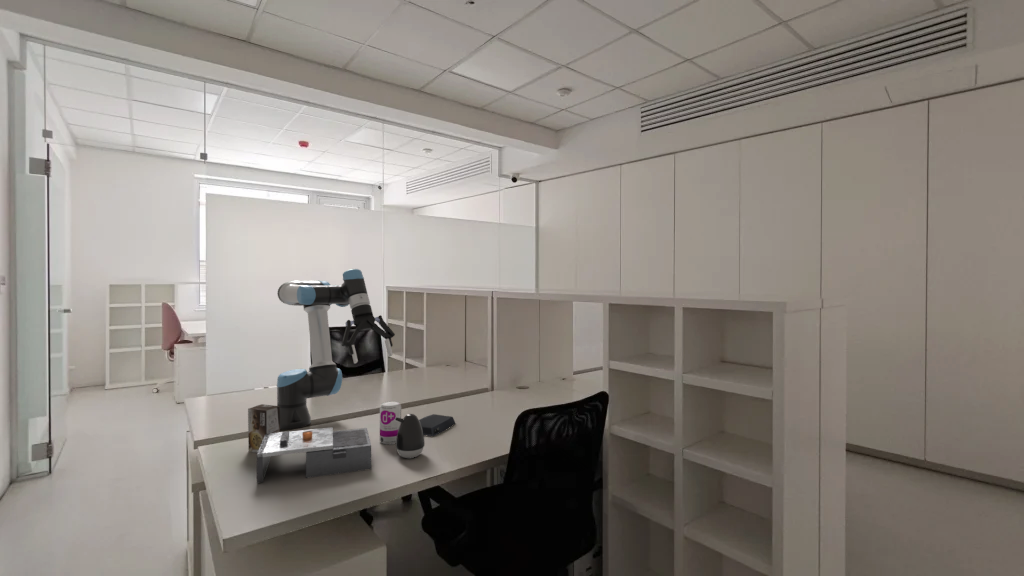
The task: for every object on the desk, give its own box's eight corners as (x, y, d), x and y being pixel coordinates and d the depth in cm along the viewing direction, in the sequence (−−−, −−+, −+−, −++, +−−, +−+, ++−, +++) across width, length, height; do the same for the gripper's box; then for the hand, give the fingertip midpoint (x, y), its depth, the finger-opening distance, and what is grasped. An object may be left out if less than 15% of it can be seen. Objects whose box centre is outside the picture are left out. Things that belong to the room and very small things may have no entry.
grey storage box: (305, 480, 147) (305, 454, 146) (308, 453, 169) (309, 431, 169) (371, 471, 154) (371, 447, 154) (366, 447, 176) (366, 425, 176)
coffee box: (280, 448, 174) (280, 405, 174) (266, 454, 168) (266, 410, 168) (262, 445, 177) (262, 403, 177) (247, 451, 171) (247, 407, 170)
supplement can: (395, 445, 178) (395, 406, 178) (375, 444, 180) (375, 405, 179) (404, 438, 186) (404, 401, 186) (385, 437, 188) (385, 400, 187)
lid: (256, 482, 143) (256, 447, 143) (265, 459, 162) (265, 428, 162) (332, 472, 151) (332, 439, 151) (332, 451, 170) (332, 421, 170)
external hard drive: (406, 434, 193) (406, 424, 193) (431, 421, 211) (431, 412, 211) (433, 438, 189) (433, 428, 189) (457, 424, 207) (457, 415, 206)
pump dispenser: (393, 452, 171) (393, 411, 171) (421, 449, 175) (421, 408, 174) (397, 462, 161) (397, 419, 161) (427, 458, 165) (427, 416, 165)
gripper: (330, 307, 171) (343, 362, 165) (394, 299, 186) (407, 350, 181) (325, 314, 176) (337, 368, 171) (387, 306, 192) (400, 355, 186)
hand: (373, 359), depth 176 cm, fingers open, 13 cm apart
